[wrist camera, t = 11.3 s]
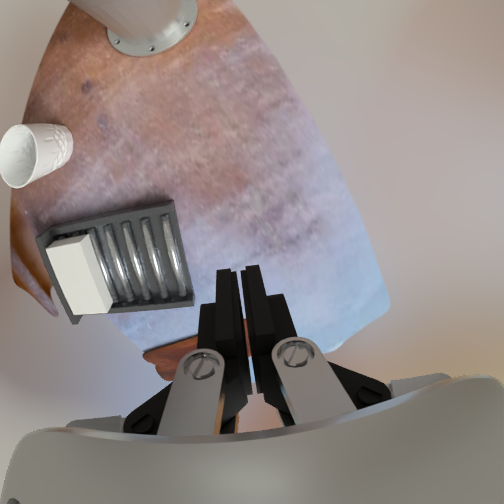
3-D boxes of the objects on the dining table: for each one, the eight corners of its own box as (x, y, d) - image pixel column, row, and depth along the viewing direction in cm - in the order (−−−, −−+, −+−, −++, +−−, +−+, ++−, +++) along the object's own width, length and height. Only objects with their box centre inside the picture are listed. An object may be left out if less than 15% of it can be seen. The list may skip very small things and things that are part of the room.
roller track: (51, 226, 35) (35, 238, 30) (173, 200, 36) (166, 211, 31) (82, 307, 42) (72, 324, 38) (195, 297, 43) (192, 316, 38)
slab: (55, 240, 34) (45, 249, 31) (88, 233, 34) (79, 242, 32) (80, 304, 39) (73, 314, 37) (113, 301, 40) (107, 312, 37)
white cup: (83, 126, 29) (43, 130, 21) (69, 177, 32) (31, 195, 23) (45, 116, 27) (4, 119, 18) (34, 164, 30) (-6, 179, 21)
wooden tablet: (167, 379, 53) (166, 385, 51) (139, 350, 48) (138, 356, 47) (284, 343, 50) (285, 349, 49) (266, 307, 46) (267, 313, 44)
